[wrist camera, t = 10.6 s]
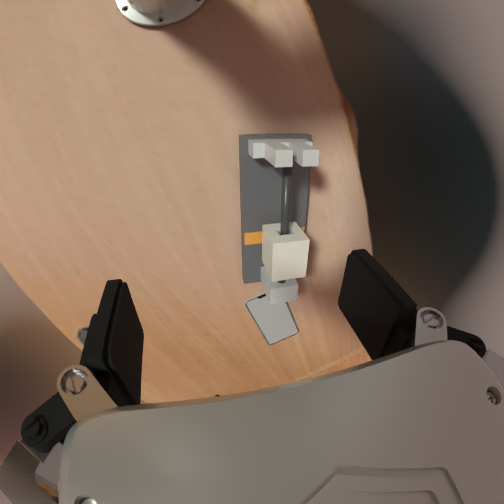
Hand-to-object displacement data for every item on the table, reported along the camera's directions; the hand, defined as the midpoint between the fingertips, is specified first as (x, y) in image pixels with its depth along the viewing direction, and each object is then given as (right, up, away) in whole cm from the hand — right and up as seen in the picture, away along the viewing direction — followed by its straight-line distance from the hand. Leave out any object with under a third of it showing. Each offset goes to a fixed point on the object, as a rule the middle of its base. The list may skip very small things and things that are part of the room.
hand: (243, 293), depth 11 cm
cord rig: (+4, +8, +32) cm, 33 cm away
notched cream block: (+4, +3, +31) cm, 32 cm away
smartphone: (+5, -11, +45) cm, 46 cm away
